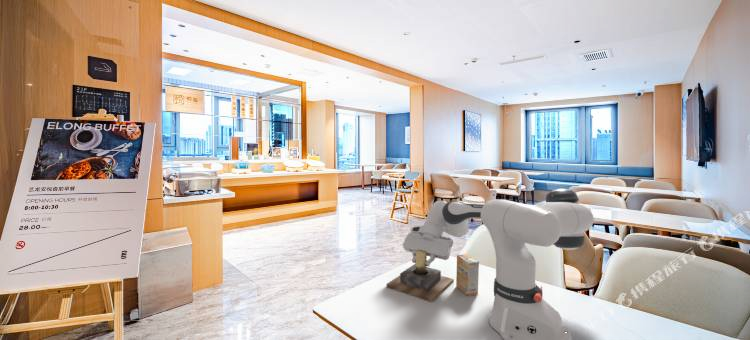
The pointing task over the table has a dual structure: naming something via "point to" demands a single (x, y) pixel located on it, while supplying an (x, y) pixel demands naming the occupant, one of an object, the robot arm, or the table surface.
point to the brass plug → (421, 262)
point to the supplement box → (467, 274)
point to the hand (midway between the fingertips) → (420, 263)
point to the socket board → (421, 292)
